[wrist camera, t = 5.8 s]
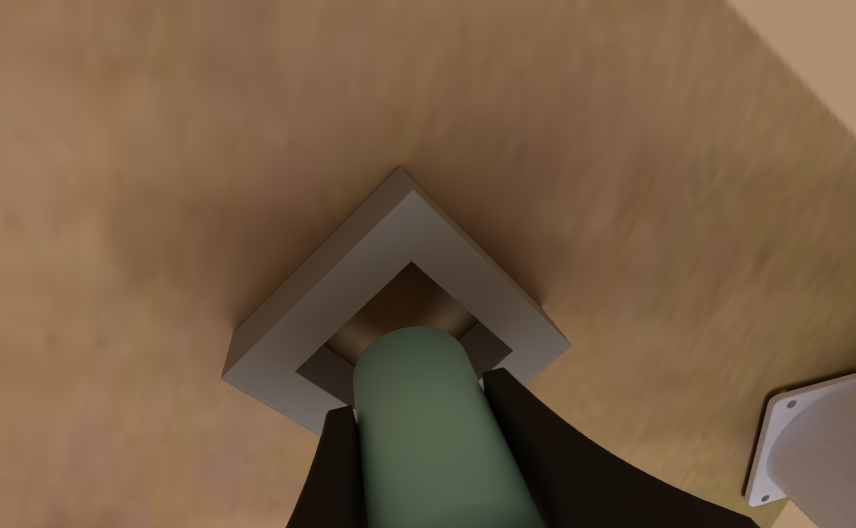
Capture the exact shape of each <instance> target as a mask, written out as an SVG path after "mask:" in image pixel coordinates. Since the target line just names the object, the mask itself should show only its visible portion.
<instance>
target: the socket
mask: <svg viewBox="0 0 856 528" xmlns="http://www.w3.org/2000/svg"><path fill="white" fill-rule="evenodd" d="M411 261H412V262H413V263H414V264H416V265H417V266H418V267H419V268H420V269H421V270H422V271H423V272H425V273H426V274H427V275H428V276H429V277H430V278H431V279H433V280H434V281H435V282H436V283H437V284H438V285H439V286H440V287H442V288H443V289H444V290H445V291H446V292H447V293H448V294H450V295H451V296H452V297H453V298H454V299H455V300H456V301H457V302H459V303H460V304H461V305H462V306H463V307H464V308H465V309H467V310H468V311H469V312H470V313H471V314H472V315H473V316H474V317H476V318H477V319H478V320H479V321H480V322H478V323H477V324H476V325H475V326H474V327H473V328H472V329H471V330H469V331H468V332H467V333H466V334H465V335H464V336H463V337H462V338H460V339H459V340H458V341H459V343H460V344H461V345H462V346H463V348H464V350H465V352H466V354H467V356H468V358H469V361H470V363H471V365H472V367H473V369H474V371H475V374H476V376H477V378H478V380H479V382H480V384H481V387H482V389H483V391H484V387H483V378H482V372H485V371H489V370H493V369H497V368H501V367H504V368H505V369H507V370H508V371H509V372H510V373H511V374H512V375H513V376H514V377H515V378H516V379H517V380H518V381H519V382H520V383H521V384H522V385H523V386H524V385H526V384H527V383H528V382H529V381H530V380H532V379H533V378H534V377H535V376H536V375H537V374H539V373H540V372H541V371H542V370H543V369H545V368H546V367H547V366H548V365H549V364H550V363H552V362H553V361H554V360H555V359H556V358H558V357H559V356H560V355H561V354H562V353H564V352H565V351H566V350H567V349H568V348H569V347H571V346H572V345H571V344H570V342H569V341H568V340H567V339H566V337H565V336H564V335H563V334H562V332H561V331H560V330H559V329H558V327H557V326H556V325H555V324H554V322H553V321H552V320H551V319H550V317H549V316H548V315H547V314H546V312H545V311H544V310H543V309H542V307H541V306H540V305H538V304H537V303H536V302H535V301H534V300H533V299H532V298H531V297H530V296H529V295H528V294H527V293H526V292H525V291H524V290H523V289H522V288H521V287H520V286H519V285H518V284H517V283H516V282H515V281H514V280H513V279H512V278H511V277H510V276H509V275H508V274H507V273H506V272H505V271H504V270H503V269H502V268H501V267H500V266H499V265H498V264H497V263H496V262H495V261H494V260H493V259H492V258H491V257H490V256H489V255H488V254H487V253H486V252H485V251H484V250H483V249H482V248H481V247H480V246H479V245H478V244H477V243H476V242H475V241H474V240H473V239H472V238H471V237H470V236H469V235H468V234H467V233H466V232H465V231H464V230H463V229H462V228H461V227H460V226H459V225H458V224H457V223H456V222H455V221H454V220H453V219H452V218H451V217H450V216H449V215H448V214H447V213H446V212H445V211H444V210H443V209H442V208H441V207H440V206H439V205H438V204H437V203H436V202H435V201H434V200H433V199H432V198H431V197H430V196H429V195H428V194H427V193H426V192H425V191H424V190H423V189H422V188H421V187H420V186H419V185H418V184H417V183H416V182H415V181H414V180H413V179H412V178H411V177H410V176H409V175H408V174H407V173H406V172H405V171H404V170H403V169H402V168H401V167H400V166H399V167H398V168H397V169H396V170H395V171H394V172H393V173H392V174H391V175H390V176H389V177H388V178H387V179H386V180H385V181H384V182H383V183H382V184H381V185H380V186H379V187H378V188H377V189H376V190H375V191H374V192H373V193H372V194H371V195H370V196H369V197H368V198H367V199H366V200H365V201H364V202H363V203H362V204H361V205H360V206H359V207H358V208H357V209H356V210H355V211H354V212H353V213H352V214H351V215H350V216H349V217H348V218H347V219H346V220H345V221H344V222H343V223H342V224H341V225H340V226H339V227H338V228H337V229H336V230H335V231H334V232H333V233H332V234H331V235H330V236H329V237H328V238H327V239H326V240H325V241H324V242H323V243H322V244H321V245H320V246H319V247H318V248H317V249H316V250H315V251H314V252H313V253H312V254H311V255H310V256H309V257H308V258H307V259H306V260H305V261H304V262H303V263H302V264H301V265H300V266H299V267H298V268H297V269H296V270H295V271H294V272H293V273H292V274H291V275H290V276H289V277H288V278H287V279H286V280H285V281H284V282H283V283H282V284H281V285H280V286H279V287H278V288H277V289H276V290H275V291H274V292H273V293H272V294H271V295H270V296H269V297H268V298H267V299H266V300H265V301H264V302H263V303H262V304H261V305H260V306H259V307H258V308H257V309H256V310H255V311H254V312H253V313H252V314H251V315H250V316H249V317H248V318H247V319H246V320H245V321H244V322H243V323H242V324H241V325H240V326H239V327H238V328H237V329H236V330H235V331H234V332H233V336H232V339H231V343H230V347H229V350H228V354H227V357H226V361H225V365H224V368H223V372H222V376H221V379H222V380H224V381H225V382H227V383H229V384H231V385H232V386H234V387H236V388H238V389H239V390H241V391H243V392H245V393H246V394H248V395H250V396H251V397H253V398H255V399H257V400H258V401H260V402H262V403H264V404H265V405H267V406H269V407H271V408H272V409H274V410H276V411H277V412H279V413H281V414H283V415H284V416H286V417H288V418H290V419H291V420H293V421H295V422H297V423H298V424H300V425H302V426H303V427H305V428H307V429H309V430H310V431H312V432H314V433H316V434H317V435H319V436H321V434H322V430H323V426H324V422H325V417H326V414H327V412H328V411H329V410H332V409H336V408H340V407H344V406H348V405H352V407H353V411H354V415H355V418H356V409H355V400H354V390H353V373H354V369H355V366H353V365H352V364H350V363H349V362H347V361H346V360H344V359H343V358H342V357H340V356H339V355H337V354H336V353H334V352H333V351H331V350H330V349H329V348H327V347H326V346H324V345H323V344H324V343H325V342H326V341H327V340H328V339H330V338H331V337H332V336H333V335H334V334H335V333H336V332H337V331H338V330H339V329H340V328H341V327H342V326H343V325H344V324H345V323H346V322H347V321H348V320H350V319H351V318H352V317H353V316H354V315H355V314H356V313H357V312H358V311H359V310H360V309H361V308H362V307H363V306H364V305H365V304H366V303H367V302H368V301H370V300H371V299H372V298H373V297H374V296H375V295H376V294H377V293H378V292H379V291H380V290H381V289H382V288H383V287H384V286H385V285H386V284H387V283H388V282H390V281H391V280H392V279H393V278H394V277H395V276H396V275H397V274H398V273H399V272H400V271H401V270H402V269H403V268H404V267H405V266H406V265H407V264H408V263H410V262H411ZM356 422H357V419H356Z"/></svg>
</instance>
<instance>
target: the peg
mask: <svg viewBox="0 0 856 528" xmlns="http://www.w3.org/2000/svg"><path fill="white" fill-rule="evenodd" d="M353 390H354V400H355V409H356V419H357V427H358V437H359V446H360V456H361V468H362V478H363V487H364V497H365V507H366V517H367V527H368V528H546V526H545V524H544V522H543V520H542V517H541V515H540V513H539V511H538V509H537V507H536V504H535V502H534V500H533V498H532V496H531V493H530V491H529V489H528V487H527V485H526V483H525V480H524V478H523V476H522V474H521V472H520V469H519V467H518V465H517V463H516V461H515V459H514V456H513V454H512V452H511V450H510V448H509V446H508V443H507V441H506V439H505V437H504V435H503V432H502V430H501V428H500V426H499V424H498V422H497V419H496V417H495V415H494V413H493V411H492V408H491V406H490V404H489V402H488V400H487V398H486V395H485V393H484V391H483V389H482V387H481V384H480V382H479V380H478V378H477V376H476V374H475V371H474V369H473V367H472V365H471V363H470V361H469V358H468V356H467V354H466V352H465V350H464V348H463V346H462V345H461V344H460V343H459V341H458V340H457V339H456V338H454V337H453V336H452V335H450V334H448V333H447V332H445V331H442V330H440V329H437V328H433V327H426V326H412V327H405V328H401V329H397V330H394V331H392V332H389V333H387V334H385V335H383V336H382V337H380V338H378V339H377V340H376V341H374V342H373V343H372V344H371V345H370V346H369V347H368V348H366V350H365V351H364V352H363V353H362V355H361V356H360V358H359V360H358V361H357V364H356V366H355V369H354V373H353Z"/></svg>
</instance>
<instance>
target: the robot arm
mask: <svg viewBox="0 0 856 528" xmlns="http://www.w3.org/2000/svg"><path fill="white" fill-rule="evenodd" d="M482 378H483V387H484V393H485V395H486V398H487V400H488V402H489V404H490V406H491V408H492V411H493V413H494V415H495V417H496V419H497V422H498V424H499V426H500V428H501V430H502V432H503V435H504V437H505V439H506V441H507V443H508V446H509V448H510V450H511V452H512V454H513V456H514V459H515V461H516V463H517V465H518V467H519V469H520V472H521V474H522V476H523V478H524V480H525V483H526V485H527V487H528V489H529V491H530V493H531V496H532V498H533V500H534V502H535V504H536V507H537V509H538V511H539V513H540V515H541V517H542V520H543V522H544V524H545V526H546V528H760V527H759V526H758V525H757V524H756V523H755V522H754V521H753V520H752V519H751V518H750V517H747V516H745V515H742V514H739V513H737V512H734V511H732V510H729V509H726V508H724V507H721V506H718V505H716V504H713V503H710V502H708V501H705V500H703V499H700V498H698V497H696V496H693V495H691V494H689V493H687V492H684V491H682V490H680V489H678V488H675V487H673V486H671V485H669V484H667V483H665V482H663V481H661V480H659V479H657V478H655V477H653V476H651V475H649V474H647V473H646V472H644V471H642V470H640V469H638V468H636V467H634V466H632V465H631V464H629V463H627V462H625V461H624V460H622V459H620V458H619V457H617V456H615V455H614V454H612V453H610V452H609V451H607V450H606V449H604V448H602V447H601V446H599V445H598V444H596V443H595V442H593V441H592V440H591V439H589V438H588V437H586V436H585V435H583V434H582V433H581V432H579V431H578V430H577V429H575V428H574V427H572V426H571V425H570V424H568V423H567V422H566V421H565V420H563V419H562V418H561V417H559V416H558V415H557V414H556V413H555V412H553V411H552V410H551V409H550V408H548V407H547V406H546V405H545V404H544V403H542V402H541V401H540V400H539V399H538V398H537V397H535V396H534V395H533V394H532V393H531V392H530V391H529V390H528V389H527V388H526V387H524V386H523V385H522V384H521V383H520V382H519V381H518V380H517V379H516V378H515V377H514V376H513V375H512V374H511V373H510V372H509V371H508V370H507V369H505V368H504V367H501V368H497V369H493V370H489V371H485V372H482ZM785 497H788V498H789V499H790V500H791V501H792V502H793V503H794V504H795V505H796V506H797V507H798V508H799V509H800V510H801V511H802V512H803V513H804V514H805V515H806V516H807V517H808V518H809V519H810V520H811V521H812V522H813V523H814V524H815V525H816V526H817V527H818V528H856V373H854V374H850V375H846V376H843V377H839V378H835V379H832V380H828V381H824V382H821V383H817V384H813V385H810V386H806V387H803V388H799V389H795V390H792V391H788V392H784V393H781V394H777V395H775V396H773V397H772V398H771V399H770V400H769V402H768V405H767V409H766V413H765V417H764V421H763V425H762V429H761V433H760V437H759V441H758V445H757V449H756V453H755V457H754V461H753V465H752V469H751V473H750V477H749V481H748V485H747V489H746V493H745V497H744V500H745V501H746V502H747V503H748V504H749V506H752V507H754V506H758V505H761V504H765V503H768V502H771V501H775V500H778V499H781V498H785ZM286 528H368V527H367V517H366V507H365V497H364V487H363V478H362V468H361V456H360V446H359V437H358V427H357V422H356V418H355V415H354V411H353V407H352V405H348V406H344V407H340V408H336V409H332V410H329V411H328V412H327V414H326V417H325V422H324V426H323V430H322V434H321V438H320V441H319V444H318V448H317V451H316V454H315V457H314V460H313V463H312V465H311V468H310V471H309V474H308V477H307V479H306V482H305V485H304V487H303V489H302V492H301V494H300V497H299V499H298V501H297V504H296V506H295V508H294V511H293V513H292V515H291V517H290V519H289V522H288V524H287V526H286Z"/></svg>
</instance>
